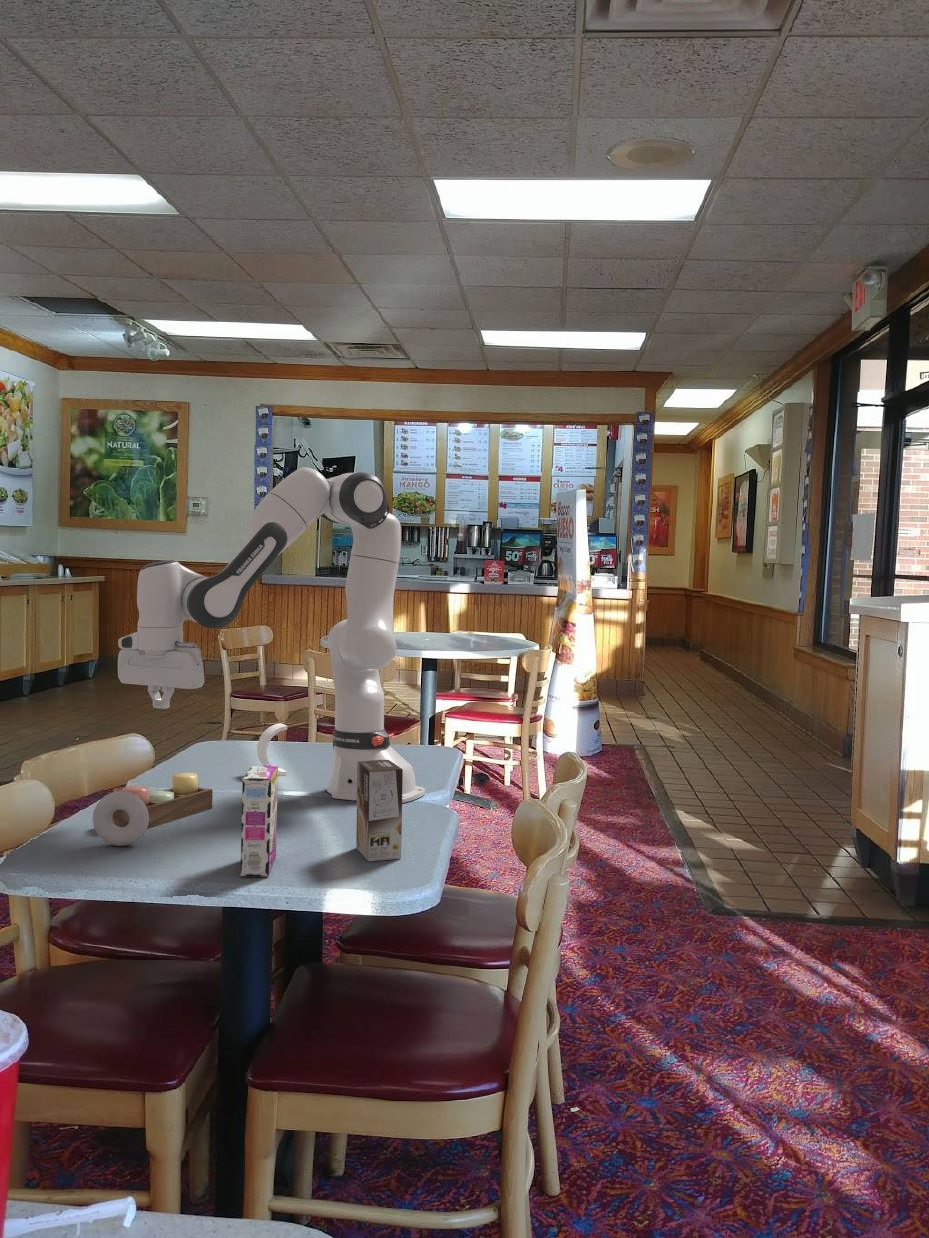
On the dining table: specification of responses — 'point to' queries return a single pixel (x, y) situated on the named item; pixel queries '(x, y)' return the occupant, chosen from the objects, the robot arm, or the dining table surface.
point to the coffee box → (379, 810)
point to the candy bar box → (259, 821)
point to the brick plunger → (139, 792)
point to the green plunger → (161, 796)
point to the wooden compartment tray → (171, 808)
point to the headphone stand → (264, 743)
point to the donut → (106, 825)
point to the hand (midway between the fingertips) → (161, 707)
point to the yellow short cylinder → (185, 783)
